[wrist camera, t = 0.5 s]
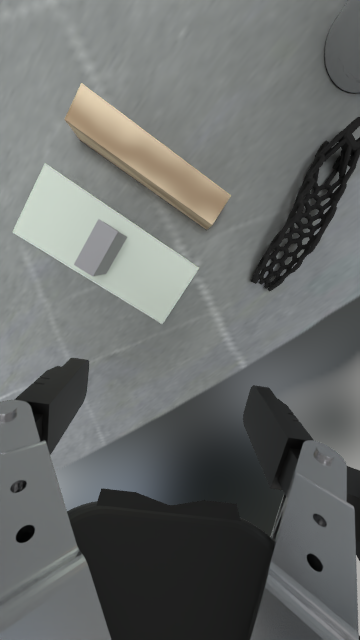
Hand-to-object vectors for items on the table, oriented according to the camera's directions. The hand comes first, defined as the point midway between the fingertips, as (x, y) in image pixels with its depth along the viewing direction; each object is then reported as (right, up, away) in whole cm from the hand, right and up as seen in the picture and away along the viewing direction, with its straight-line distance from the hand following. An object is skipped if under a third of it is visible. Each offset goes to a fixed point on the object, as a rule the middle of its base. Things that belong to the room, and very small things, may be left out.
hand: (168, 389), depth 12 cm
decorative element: (+17, +19, +23) cm, 34 cm away
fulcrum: (-9, +13, +23) cm, 28 cm away
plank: (-3, +23, +21) cm, 31 cm away
